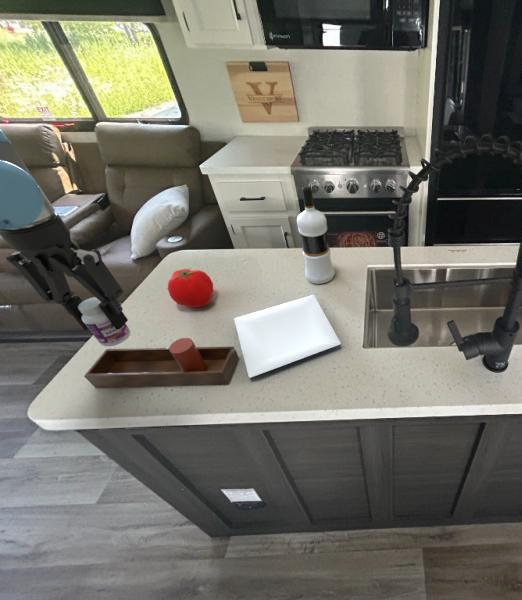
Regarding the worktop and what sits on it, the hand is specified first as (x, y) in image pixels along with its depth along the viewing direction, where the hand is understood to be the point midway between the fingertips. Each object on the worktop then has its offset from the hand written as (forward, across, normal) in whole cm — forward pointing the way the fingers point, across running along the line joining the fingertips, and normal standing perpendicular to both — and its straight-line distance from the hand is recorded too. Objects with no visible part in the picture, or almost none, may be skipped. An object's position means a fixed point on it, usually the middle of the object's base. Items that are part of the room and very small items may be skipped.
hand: (106, 324), depth 67 cm
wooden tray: (+16, -6, 0) cm, 17 cm away
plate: (+16, -31, -12) cm, 37 cm away
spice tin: (+16, -12, 0) cm, 20 cm away
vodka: (+16, -36, -38) cm, 55 cm away
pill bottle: (+4, 0, 0) cm, 4 cm away
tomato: (+16, -2, -26) cm, 31 cm away
